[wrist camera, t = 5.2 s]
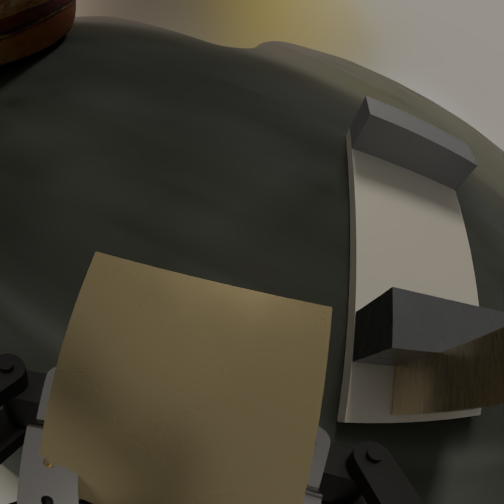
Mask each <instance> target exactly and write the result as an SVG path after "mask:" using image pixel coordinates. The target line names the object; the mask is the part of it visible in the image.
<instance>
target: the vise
mask: <svg viewBox="0 0 504 504" xmlns="http://www.w3.org/2000/svg"><path fill="white" fill-rule="evenodd" d="M346 143H347V157H348V174H349V198H350V281H349V305H348V323H347V337H346V349H345V360H344V370H343V379H342V388H341V396H340V404H339V411H338V418H337V422H345V423H404V422H422V421H435V420H446V419H455V418H463V417H470V416H477V415H481V408H478V409H472V410H464V411H456V412H445V413H431V414H410V415H391V411H392V402H393V391H394V379H395V366H388V365H377V364H368V363H359V362H353V350H354V336H355V319H356V311H358V310H360V309H361V308H363V307H364V306H365V305H367V304H368V303H370V302H371V301H373V300H374V299H376V298H377V297H379V296H380V295H381V294H383V293H384V292H386V291H387V290H389V289H390V288H391V287H396V288H400V289H405V290H409V291H413V292H418V293H422V294H426V295H431V296H435V297H439V298H444V299H448V300H453V301H457V302H461V303H466V304H470V305H475V306H479V303H478V295H477V287H476V281H475V274H474V268H473V263H472V257H471V252H470V247H469V243H468V238H467V234H466V229H465V225H464V221H463V217H462V213H461V210H460V206H459V203H458V199H457V196H456V192H455V190H456V188H457V187H458V186H459V185H460V184H461V183H462V182H463V181H464V180H465V179H466V178H467V177H468V175H469V174H470V173H471V172H472V171H473V170H474V169H475V168H476V166H477V163H476V161H475V159H474V156H473V154H472V152H471V150H470V148H469V146H468V145H467V144H466V143H464V142H462V141H461V140H459V139H457V138H455V137H453V136H452V135H450V134H448V133H446V132H444V131H442V130H441V129H439V128H437V127H435V126H433V125H431V124H429V123H427V122H425V121H423V120H421V119H419V118H417V117H414V116H412V115H410V114H408V113H406V112H404V111H401V110H399V109H397V108H395V107H392V106H390V105H388V104H385V103H383V102H380V101H378V100H375V99H373V98H370V97H368V96H366V97H365V99H364V101H363V103H362V105H361V107H360V109H359V111H358V113H357V115H356V117H355V119H354V121H353V123H352V125H351V127H350V129H349V131H348V133H347V135H346Z"/></svg>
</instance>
